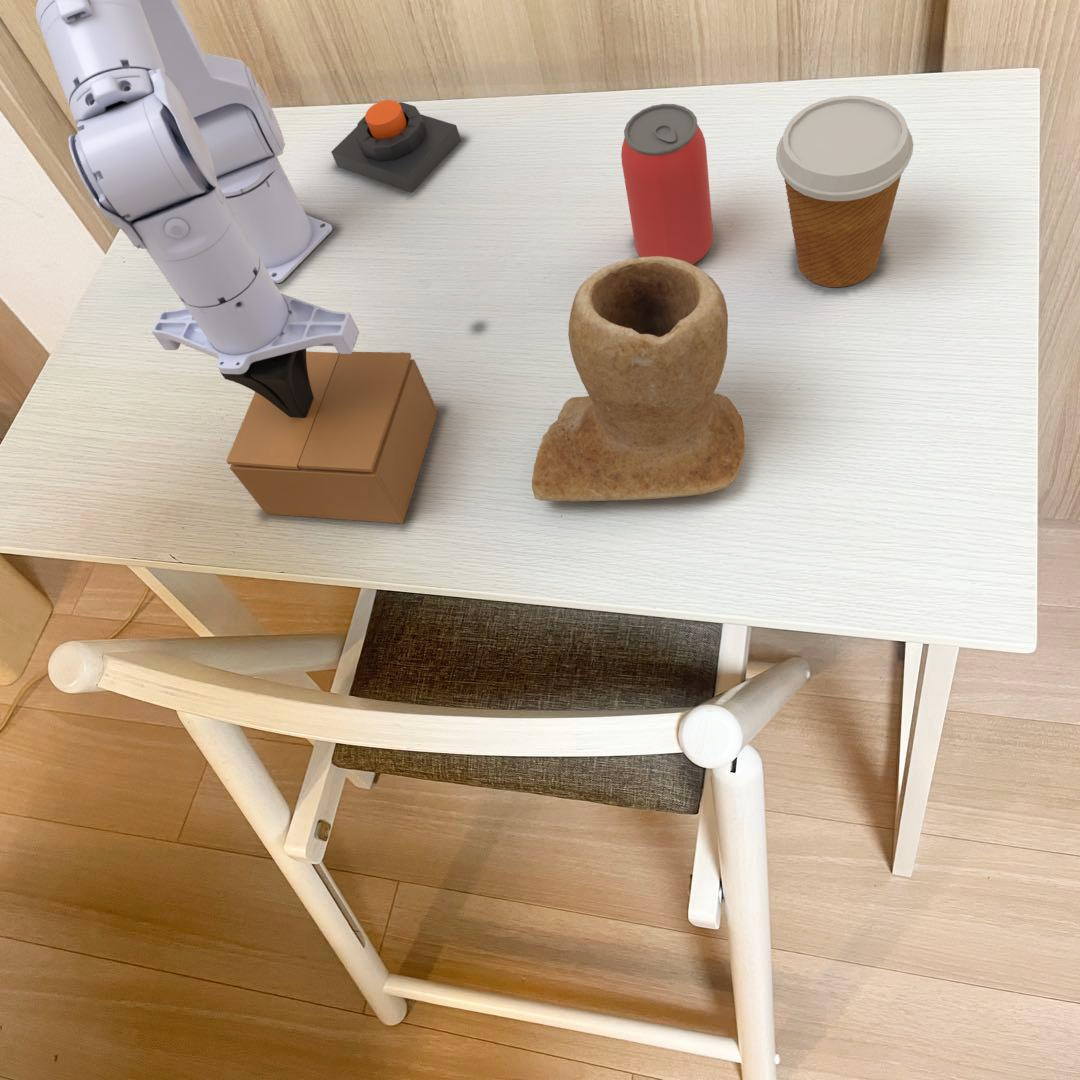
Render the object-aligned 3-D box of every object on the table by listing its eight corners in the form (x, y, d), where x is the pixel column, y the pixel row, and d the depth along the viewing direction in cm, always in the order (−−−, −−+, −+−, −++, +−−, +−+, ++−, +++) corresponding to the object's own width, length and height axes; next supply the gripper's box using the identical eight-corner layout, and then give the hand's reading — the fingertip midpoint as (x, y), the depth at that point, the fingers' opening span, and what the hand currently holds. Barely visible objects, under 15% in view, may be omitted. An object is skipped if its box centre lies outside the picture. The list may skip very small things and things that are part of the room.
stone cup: (745, 379, 79) (737, 229, 66) (745, 510, 73) (737, 372, 60) (552, 389, 82) (510, 248, 70) (537, 515, 76) (488, 385, 64)
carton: (265, 514, 82) (224, 461, 76) (307, 406, 87) (272, 349, 81) (403, 523, 78) (371, 470, 72) (438, 411, 83) (411, 352, 77)
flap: (228, 464, 76) (225, 461, 76) (274, 353, 81) (272, 349, 81) (298, 469, 74) (296, 466, 74) (341, 356, 80) (340, 352, 79)
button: (363, 134, 100) (357, 119, 98) (386, 111, 101) (381, 96, 99) (391, 143, 98) (385, 128, 97) (414, 120, 99) (408, 104, 98)
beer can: (661, 286, 86) (644, 168, 76) (622, 242, 89) (601, 125, 79) (728, 249, 86) (721, 128, 76) (687, 208, 90) (674, 86, 80)
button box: (337, 167, 103) (324, 138, 100) (387, 118, 106) (376, 87, 103) (411, 193, 98) (400, 163, 96) (461, 141, 101) (451, 110, 98)
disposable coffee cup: (763, 294, 83) (760, 173, 73) (794, 212, 87) (795, 87, 77) (884, 311, 80) (898, 186, 70) (911, 224, 84) (928, 95, 74)
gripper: (97, 320, 66) (198, 446, 77) (300, 323, 62) (375, 455, 73) (139, 241, 69) (230, 372, 80) (334, 239, 65) (401, 377, 77)
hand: (301, 407), depth 77 cm, fingers closed, pressing on flap
